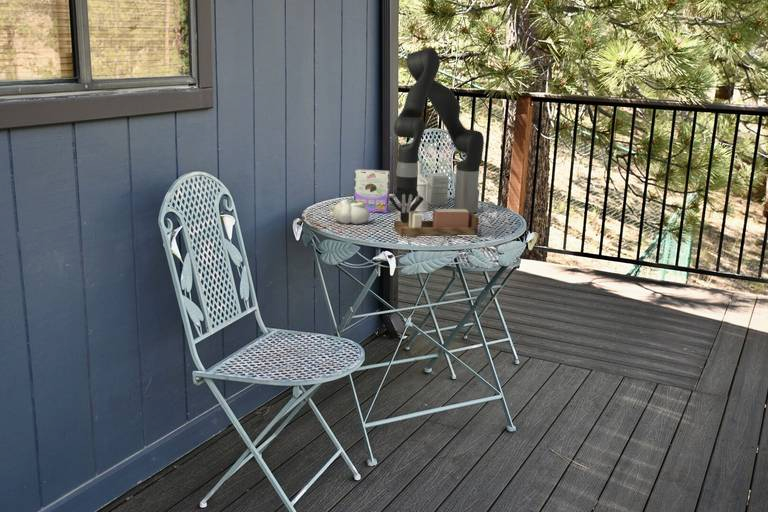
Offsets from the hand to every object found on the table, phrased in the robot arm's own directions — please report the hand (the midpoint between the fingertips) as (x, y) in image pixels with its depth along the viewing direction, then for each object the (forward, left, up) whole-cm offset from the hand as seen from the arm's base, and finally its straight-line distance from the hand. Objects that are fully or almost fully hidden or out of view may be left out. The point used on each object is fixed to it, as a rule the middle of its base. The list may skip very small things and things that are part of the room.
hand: (404, 222), depth 289 cm
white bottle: (-14, -40, -4) cm, 43 cm away
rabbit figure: (-6, -27, -4) cm, 28 cm away
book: (-17, 0, -3) cm, 17 cm away
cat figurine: (+18, -16, -4) cm, 24 cm away
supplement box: (-25, -53, -4) cm, 59 cm away
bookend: (-4, 0, -2) cm, 4 cm away
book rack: (-11, 0, -4) cm, 12 cm away
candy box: (+6, -37, -4) cm, 37 cm away
